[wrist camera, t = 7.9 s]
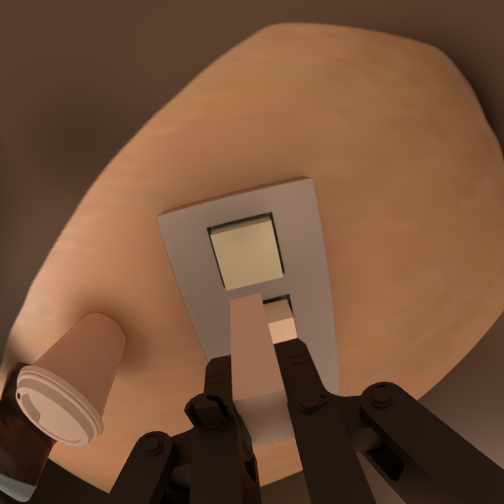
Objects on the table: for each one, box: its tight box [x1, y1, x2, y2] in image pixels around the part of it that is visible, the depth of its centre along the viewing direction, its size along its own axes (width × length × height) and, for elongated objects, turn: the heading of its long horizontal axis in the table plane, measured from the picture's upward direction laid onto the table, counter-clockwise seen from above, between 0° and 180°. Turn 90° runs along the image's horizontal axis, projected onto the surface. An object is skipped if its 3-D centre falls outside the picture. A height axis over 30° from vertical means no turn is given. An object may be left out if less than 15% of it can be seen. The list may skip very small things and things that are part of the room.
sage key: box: [210, 214, 283, 291], centre depth 25 cm, size 5×5×4 cm
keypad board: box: [156, 177, 340, 394], centre depth 28 cm, size 14×26×3 cm, turn 13°
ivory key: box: [263, 299, 297, 344], centre depth 25 cm, size 5×5×4 cm
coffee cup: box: [16, 312, 126, 447], centre depth 22 cm, size 10×10×15 cm
